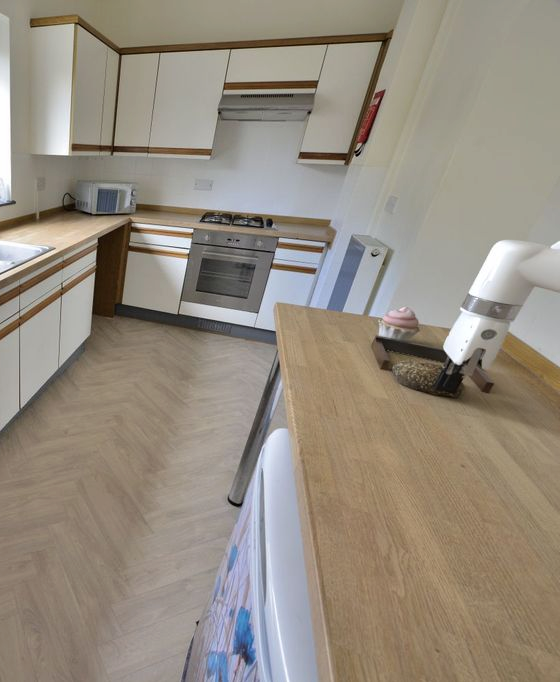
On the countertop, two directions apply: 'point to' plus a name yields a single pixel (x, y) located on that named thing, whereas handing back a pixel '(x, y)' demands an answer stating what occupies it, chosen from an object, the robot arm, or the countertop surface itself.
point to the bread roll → (422, 377)
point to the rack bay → (425, 352)
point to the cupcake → (399, 324)
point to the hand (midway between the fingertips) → (443, 389)
